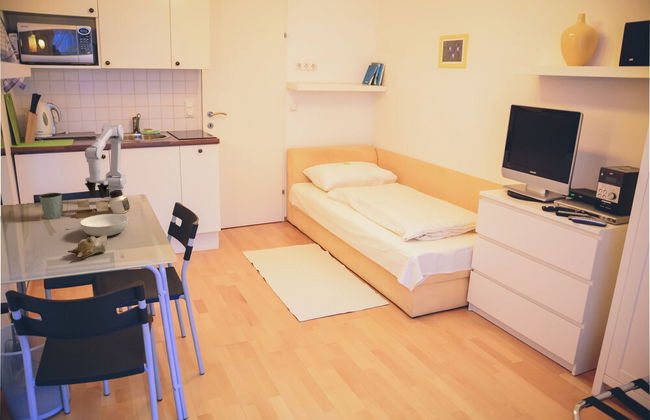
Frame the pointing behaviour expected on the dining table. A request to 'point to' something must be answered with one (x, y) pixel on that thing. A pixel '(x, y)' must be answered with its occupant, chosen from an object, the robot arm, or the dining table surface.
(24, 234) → the dining table surface
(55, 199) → the green cylindrical pot
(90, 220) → the serving bowl
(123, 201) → the medicine bottle
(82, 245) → the ceramic sculpture
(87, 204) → the birch block
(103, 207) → the block
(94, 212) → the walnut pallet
